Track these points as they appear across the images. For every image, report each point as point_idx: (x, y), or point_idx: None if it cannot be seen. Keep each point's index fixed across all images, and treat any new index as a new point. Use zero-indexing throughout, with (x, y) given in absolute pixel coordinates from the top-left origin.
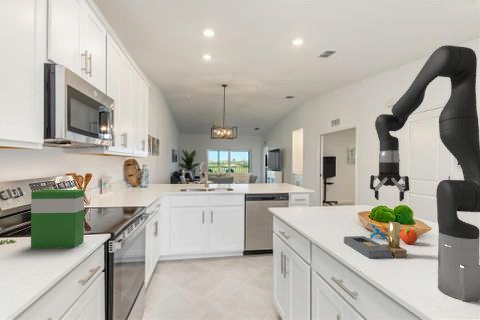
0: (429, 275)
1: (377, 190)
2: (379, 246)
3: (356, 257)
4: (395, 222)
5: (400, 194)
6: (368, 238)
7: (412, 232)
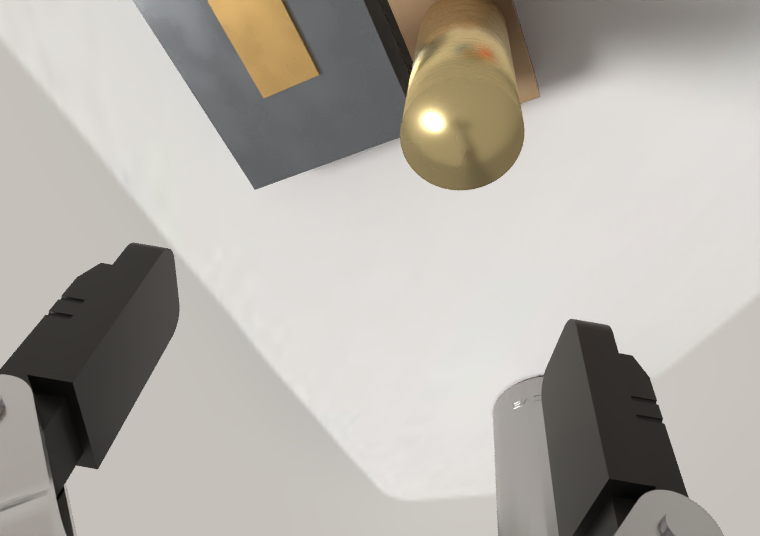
0: (531, 306)
1: (64, 487)
2: (340, 64)
3: (198, 164)
4: (485, 112)
5: (557, 505)
6: None
7: None
